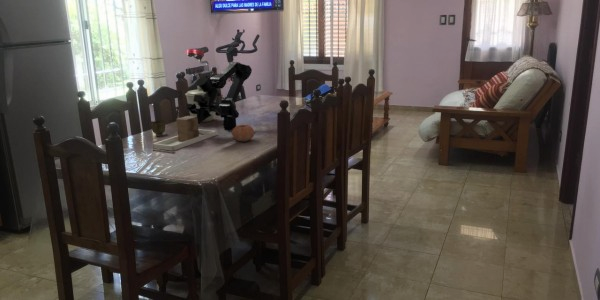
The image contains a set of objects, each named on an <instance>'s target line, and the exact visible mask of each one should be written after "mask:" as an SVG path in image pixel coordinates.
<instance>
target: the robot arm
mask: <svg viewBox="0 0 600 300" xmlns="http://www.w3.org/2000/svg"><path fill="white" fill-rule="evenodd" d="M252 70H253V69H252V67H251V66H250V65H249V64H248V65H247V64H243V63H241V62H240V61H232V62H230V63H229V65H227V66H226V67H225V68H224V69H223V70H222V71H221V72H220V73H218V74H216V75H213V76H210V77H208V75H207V74H203V76H202V77H199V78H198V79H197V80H196V85H197V86H199V87H200V88H201V90H202V91H203V92H206V93H205V94H204V95H194V100H193V101H194V102H197V104H198V105H199V106H196V105H195V104H190V103H189V104H188V103H187V104H186V106H185V108H186V109H187V110H188V111H190V112H191V113H192V114H197V119H198V125H200V124H202V123H203V122H202V121H204V120H205V119H206V118H208V117H210V116H211V113H212V112H215V116H218V117H220V118H223V119H222V125H223V129H224V131H226V130H228V131H229V130H233V129H234V128H235V127H236V126H237V119H238V118H239V115H240V113H239V111H238V110H237V105H236V103H237V102H236V101H237V99H238V97H239V94H240V92H241V89H242V87H243V85H244V83H245V81H246V80H248V79H249V78H250V76H251V74H252ZM234 74H235V78H234V81H233V83H232V86H231V88H230V90H229V93H228V95H227V98H226V99H222V100H221V101H220V104H218V105H217V104H216V99H217V97H221V93H220V90H221V89H223V88H224V87H225V86H226V85H227V81H228V80H229V79H230V78H231V77H232V76H233V75H234ZM219 89H220V90H219ZM214 101H215V102H214ZM190 112H189V113H190Z"/></svg>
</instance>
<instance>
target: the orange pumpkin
mask: <svg viewBox="0 0 600 300" xmlns="http://www.w3.org/2000/svg"><path fill="white" fill-rule="evenodd" d="M231 130H232V131H231V136H232V138H233V139H234V140H236V141H238V142H243V143H244V142H248V141H250V140H252V139H253V138H254V135H255V130H254V129H253V127H252V126H250V125H248V124H240V125H236V127H235V128H234V129H231Z"/></svg>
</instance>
